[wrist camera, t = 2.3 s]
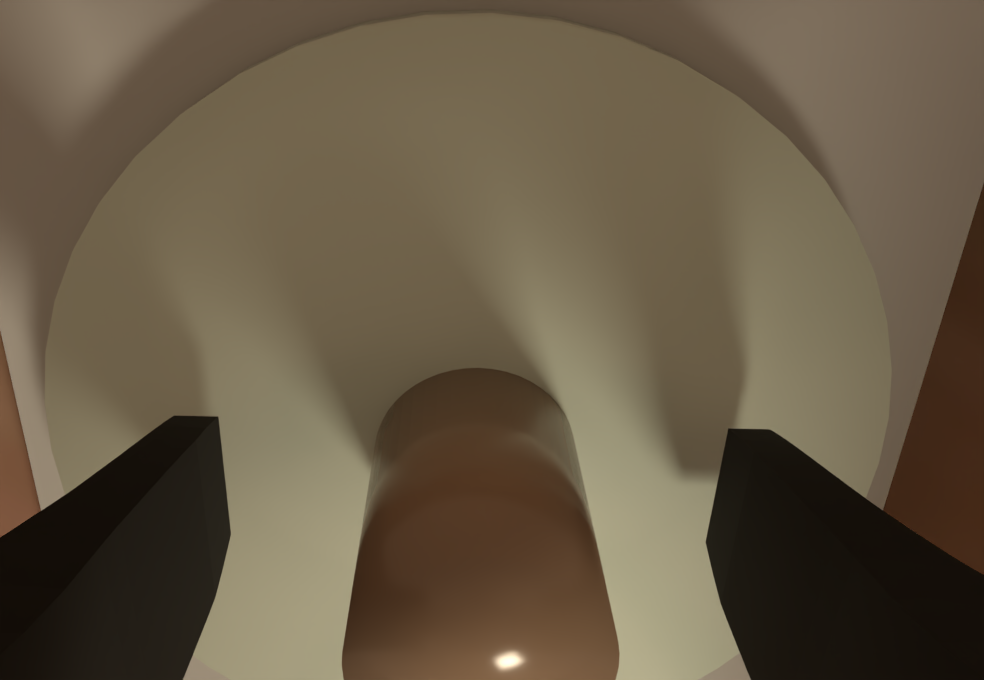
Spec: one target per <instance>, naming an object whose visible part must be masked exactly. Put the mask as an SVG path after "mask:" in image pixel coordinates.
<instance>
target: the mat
mask: <svg viewBox="0 0 984 680" xmlns="http://www.w3.org/2000/svg"><path fill="white" fill-rule="evenodd" d="M486 9H492V10H501V11H510V12H519V13H528V14H536V15H545V16H554V17H558V18H562V19H566V20H570V21H574V22H578V23H581V24H585V25H589V26H593V27H597V28H601V29H605V30H609V31H612V32H616V33H618V34H621V35H623V36H626V37H628V38H630V39H633V40H635V41H637V42H640V43H642V44H645V45H647V46H649V47H652V48H654V49H657V50H659V51H661V52H664V53H666V54H669V55H671V56H673V57H675V58H676V59H678V60H680V61H681V62H683V63H685V64H686V65H688V66H690V67H691V68H693V69H695V70H696V71H698V72H700V73H701V74H703V75H705V76H706V77H708V78H710V79H711V80H713V81H715V82H716V83H718V84H720V85H721V86H723V87H724V88H726V89H727V90H729V91H730V92H732V93H733V94H735V95H736V96H738V97H739V98H741V99H742V100H743V101H744V102H746V103H747V104H748V105H749V106H750V107H752V108H753V109H754V110H755V111H756V112H758V113H759V114H760V115H761V116H763V117H764V118H765V119H766V120H767V121H769V122H770V123H771V124H772V125H773V126H775V127H776V128H777V129H778V130H779V131H781V132H782V133H783V134H784V135H786V136H787V137H788V139H789V140H790V141H791V142H792V143H793V144H794V145H795V146H796V148H797V149H798V150H799V151H800V152H801V153H802V154H803V155H804V157H805V158H806V159H807V160H808V161H809V162H810V163H811V164H812V166H813V167H814V168H815V169H816V170H817V171H818V172H819V173H820V175H821V176H822V177H823V178H824V179H825V181H826V182H827V184H828V185H829V187H830V188H831V190H832V191H833V193H834V195H835V196H836V198H837V199H838V201H839V202H840V204H841V206H842V207H843V209H844V210H845V212H846V213H847V215H848V217H849V218H850V220H851V221H852V223H853V224H854V226H855V228H856V231H857V233H858V235H859V238H860V240H861V242H862V245H863V247H864V249H865V251H866V254H867V256H868V258H869V261H870V263H871V265H872V268H873V270H874V272H875V275H876V279H877V283H878V287H879V291H880V295H881V299H882V303H883V307H884V311H885V315H886V319H887V323H888V334H889V345H890V356H891V367H892V375H891V391H890V407H889V419H888V424H887V428H886V433H885V437H884V442H883V447H882V451H881V456H880V461H879V464H878V467H877V470H876V472H875V475H874V478H873V480H872V483H871V486H870V488H869V491H868V494H867V496H866V499H867V500H869V501H870V502H872V503H873V504H874V505H876V506H877V507H879V508H880V509H881V510H883V508H884V505H885V502H886V499H887V495H888V492H889V489H890V486H891V482H892V479H893V476H894V473H895V469H896V466H897V463H898V460H899V456H900V453H901V450H902V447H903V443H904V440H905V437H906V434H907V430H908V427H909V424H910V421H911V417H912V414H913V411H914V408H915V404H916V401H917V398H918V395H919V391H920V388H921V385H922V382H923V378H924V375H925V372H926V369H927V365H928V362H929V359H930V356H931V352H932V349H933V346H934V343H935V339H936V336H937V333H938V330H939V327H940V323H941V320H942V317H943V314H944V310H945V307H946V304H947V301H948V297H949V294H950V291H951V288H952V284H953V281H954V278H955V275H956V271H957V268H958V265H959V262H960V258H961V255H962V252H963V249H964V245H965V242H966V239H967V236H968V232H969V229H970V226H971V223H972V219H973V216H974V213H975V210H976V206H977V203H978V200H979V197H980V193H981V190H982V187H983V184H984V0H0V331H1V335H2V340H3V344H4V349H5V353H6V358H7V362H8V366H9V371H10V375H11V380H12V384H13V389H14V393H15V397H16V402H17V406H18V411H19V415H20V420H21V424H22V428H23V433H24V437H25V442H26V446H27V450H28V455H29V459H30V464H31V468H32V473H33V477H34V481H35V486H36V490H37V495H38V499H39V504H40V508H41V511H42V510H43V509H45V508H46V507H48V506H49V505H51V504H52V503H54V502H55V501H57V500H58V499H60V498H61V497H63V496H64V495H65V493H64V490H63V487H62V483H61V480H60V477H59V473H58V470H57V467H56V463H55V460H54V457H53V453H52V450H51V444H50V437H49V430H48V423H47V416H46V409H45V401H44V400H45V351H46V345H47V340H48V334H49V329H50V323H51V318H52V312H53V307H54V301H55V298H56V296H57V293H58V290H59V287H60V284H61V282H62V279H63V276H64V273H65V270H66V268H67V265H68V262H69V259H70V256H71V254H72V251H73V249H74V247H75V245H76V244H77V242H78V240H79V238H80V236H81V235H82V233H83V231H84V229H85V227H86V226H87V224H88V222H89V220H90V218H91V217H92V215H93V213H94V211H95V209H96V207H97V206H98V204H99V202H100V201H101V200H102V198H103V197H104V196H105V194H106V193H107V192H108V191H109V189H110V188H111V187H112V186H113V184H114V183H115V182H116V180H117V179H118V178H119V177H120V175H121V174H122V173H123V172H124V170H125V169H126V168H127V166H128V165H129V164H130V163H131V161H132V160H133V159H134V157H135V156H136V155H137V154H138V153H140V152H141V151H142V150H143V149H144V148H145V147H146V146H147V145H148V144H149V143H150V142H151V141H152V140H153V139H155V138H156V137H157V136H158V135H159V134H160V133H161V132H162V131H163V130H164V129H165V128H166V127H167V126H169V125H170V124H171V123H172V122H173V121H174V120H175V119H176V118H177V117H178V116H179V115H180V114H182V113H183V112H185V111H186V110H187V109H189V108H190V107H191V106H193V105H194V104H195V103H197V102H198V101H200V100H201V99H203V98H204V97H206V96H207V95H208V94H210V93H211V92H213V91H214V90H216V89H217V88H219V87H220V86H222V85H223V84H225V83H226V82H228V81H229V80H230V79H232V78H233V77H235V76H236V75H238V74H239V73H241V72H242V71H244V70H245V69H247V68H248V67H250V66H252V65H255V64H257V63H259V62H261V61H263V60H265V59H267V58H269V57H271V56H273V55H275V54H277V53H279V52H281V51H283V50H285V49H288V48H290V47H292V46H294V45H296V44H298V43H300V42H302V41H305V40H308V39H311V38H314V37H317V36H320V35H323V34H327V33H330V32H333V31H336V30H339V29H342V28H345V27H349V26H352V25H355V24H358V23H361V22H365V21H371V20H377V19H383V18H389V17H395V16H401V15H407V14H413V13H418V12H424V11H450V10H486ZM183 680H230V679H228V678H227V677H225V676H223V675H222V674H220V673H218V672H216V671H215V670H213V669H211V668H209V667H208V666H206V665H205V664H204V663H202V662H201V661H200V660H198V659H197V658H196V657H194V656H192V658H191V661H190V663H189V666H188V668H187V671H186V673H185V676H184V678H183ZM698 680H751V679H750V677H749V674H748V672H747V669H746V667H745V664H744V662H743V659H742V657H741V654H740V653H739V654H737V655H736V656H735V657H733V658H732V659H730V660H729V661H727V662H726V663H725V664H723V665H722V666H720V667H719V668H718V669H716V670H714V671H712V672H711V673H709V674H707V675H705V676H703V677H702V678H700V679H698Z"/></svg>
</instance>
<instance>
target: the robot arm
mask: <svg viewBox="0 0 984 680" xmlns="http://www.w3.org/2000/svg"><path fill="white" fill-rule="evenodd" d="M230 537H231V529H230V520H229V510H228V501H227V492H226V482H225V473H224V464H223V455H222V445H221V436H220V427H219V417H218V416H175V415H174V416H173V417H171V418H169V419H168V420H166V421H165V422H163V423H162V424H161V425H159V426H158V427H157V428H155V429H154V430H152V431H151V432H150V433H148V434H147V435H146V436H144V437H143V438H142V439H140V440H139V441H138V442H136V443H135V444H134V445H132V446H131V447H130V448H128V449H127V450H126V451H125V452H123V453H122V454H121V455H119V456H118V457H117V458H115V459H114V460H112V461H111V462H110V463H108V464H107V465H106V466H104V467H103V468H102V469H100V470H99V471H97V472H96V473H95V474H93V475H92V476H91V477H89V478H88V479H87V480H85V481H84V482H82V483H81V484H80V485H78V486H77V487H76V488H74V489H73V490H71V491H70V492H69V493H67V494H66V495H64V496H63V497H61V498H60V499H58V500H57V501H55V502H54V503H52V504H51V505H49V506H48V507H46V508H45V509H43V510H42V511H40V512H39V513H37V514H36V515H34V516H33V517H31V518H30V519H28V520H26V521H25V522H23V523H22V524H20V525H19V526H17V527H16V528H14V529H13V530H11V531H10V532H8V533H7V534H5V535H3V536H2V537H0V680H183V678H184V676H185V673H186V671H187V668H188V666H189V663H190V661H191V658H192V656H193V653H194V651H195V648H196V646H197V643H198V641H199V638H200V636H201V633H202V631H203V628H204V626H205V623H206V621H207V618H208V616H209V613H210V610H211V608H212V605H213V602H214V600H215V597H216V593H217V589H218V586H219V582H220V578H221V574H222V570H223V566H224V562H225V558H226V554H227V549H228V545H229V541H230ZM706 546H707V551H708V555H709V559H710V564H711V568H712V572H713V576H714V580H715V584H716V588H717V592H718V595H719V599H720V603H721V606H722V609H723V611H724V614H725V616H726V619H727V622H728V624H729V627H730V629H731V632H732V634H733V637H734V639H735V642H736V644H737V647H738V649H739V652H740V654H741V657H742V659H743V662H744V664H745V667H746V669H747V672H748V674H749V677H750V679H751V680H984V575H983V574H981V573H979V572H977V571H976V570H974V569H972V568H970V567H969V566H967V565H965V564H964V563H962V562H960V561H959V560H957V559H955V558H954V557H952V556H951V555H949V554H947V553H946V552H944V551H943V550H941V549H940V548H938V547H937V546H935V545H933V544H932V543H930V542H929V541H927V540H926V539H924V538H923V537H921V536H920V535H918V534H917V533H915V532H913V531H912V530H910V529H909V528H907V527H906V526H904V525H903V524H902V523H900V522H899V521H897V520H896V519H894V518H893V517H891V516H890V515H888V514H887V513H886V512H884V511H883V510H881V509H880V508H879V507H877V506H876V505H874V504H873V503H872V502H870V501H869V500H867V499H866V498H865V497H863V496H862V495H861V494H859V493H858V492H856V491H855V490H854V489H852V488H851V487H850V486H848V485H847V484H846V483H844V482H843V481H842V480H840V479H839V478H837V477H836V476H835V475H833V474H832V473H831V472H829V471H828V470H827V469H825V468H824V467H823V466H821V465H820V464H819V463H817V462H816V461H815V460H813V459H812V458H811V457H809V456H808V455H807V454H805V453H804V452H803V451H801V450H800V449H799V448H797V447H796V446H794V445H793V444H792V443H790V442H789V441H787V440H786V439H784V438H783V437H781V436H780V435H778V434H777V433H775V432H774V431H772V430H770V429H733V428H728V432H727V437H726V442H725V447H724V452H723V457H722V462H721V467H720V472H719V477H718V482H717V487H716V492H715V497H714V502H713V507H712V512H711V517H710V522H709V527H708V532H707V537H706Z"/></svg>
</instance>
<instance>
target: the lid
mask: <svg viewBox="0 0 984 680" xmlns="http://www.w3.org/2000/svg"><path fill="white" fill-rule="evenodd" d="M891 375H892V367H891V356H890V345H889V334H888V323H887V319H886V315H885V311H884V307H883V303H882V299H881V295H880V291H879V287H878V283H877V279H876V275H875V272H874V270H873V268H872V265H871V263H870V261H869V258H868V256H867V254H866V251H865V249H864V247H863V245H862V242H861V240H860V238H859V235H858V233H857V231H856V228H855V226H854V224H853V223H852V221H851V220H850V218H849V217H848V215H847V213H846V212H845V210H844V209H843V207H842V206H841V204H840V202H839V201H838V199H837V198H836V196H835V195H834V193H833V191H832V190H831V188H830V187H829V185H828V184H827V182H826V181H825V179H824V178H823V177H822V176H821V175H820V173H819V172H818V171H817V170H816V169H815V168H814V167H813V166H812V164H811V163H810V162H809V161H808V160H807V159H806V158H805V157H804V155H803V154H802V153H801V152H800V151H799V150H798V149H797V148H796V146H795V145H794V144H793V143H792V142H791V141H790V140H789V139H788V137H787V136H786V135H784V134H783V133H782V132H781V131H779V130H778V129H777V128H776V127H775V126H773V125H772V124H771V123H770V122H769V121H767V120H766V119H765V118H764V117H763V116H761V115H760V114H759V113H758V112H756V111H755V110H754V109H753V108H752V107H750V106H749V105H748V104H747V103H746V102H744V101H743V100H742V99H741V98H739V97H738V96H736V95H735V94H733V93H732V92H730V91H729V90H727V89H726V88H724V87H723V86H721V85H720V84H718V83H716V82H715V81H713V80H711V79H710V78H708V77H706V76H705V75H703V74H701V73H700V72H698V71H696V70H695V69H693V68H691V67H690V66H688V65H686V64H685V63H683V62H681V61H680V60H678V59H676V58H675V57H673V56H671V55H669V54H666V53H664V52H661V51H659V50H657V49H654V48H652V47H649V46H647V45H645V44H642V43H640V42H637V41H635V40H633V39H630V38H628V37H626V36H623V35H621V34H618V33H616V32H612V31H609V30H605V29H601V28H597V27H593V26H589V25H585V24H581V23H578V22H574V21H570V20H566V19H562V18H558V17H554V16H545V15H536V14H528V13H519V12H510V11H501V10H492V9H486V10H450V11H424V12H418V13H413V14H407V15H401V16H395V17H389V18H383V19H377V20H371V21H365V22H361V23H358V24H355V25H352V26H349V27H345V28H342V29H339V30H336V31H333V32H330V33H327V34H323V35H320V36H317V37H314V38H311V39H308V40H305V41H302V42H300V43H298V44H296V45H294V46H292V47H290V48H288V49H285V50H283V51H281V52H279V53H277V54H275V55H273V56H271V57H269V58H267V59H265V60H263V61H261V62H259V63H257V64H255V65H252V66H250V67H248V68H247V69H245V70H244V71H242V72H241V73H239V74H238V75H236V76H235V77H233V78H232V79H230V80H229V81H228V82H226V83H225V84H223V85H222V86H220V87H219V88H217V89H216V90H214V91H213V92H211V93H210V94H208V95H207V96H206V97H204V98H203V99H201V100H200V101H198V102H197V103H195V104H194V105H193V106H191V107H190V108H189V109H187V110H186V111H185V112H183V113H182V114H180V115H179V116H178V117H177V118H176V119H175V120H174V121H173V122H172V123H171V124H170V125H169V126H167V127H166V128H165V129H164V130H163V131H162V132H161V133H160V134H159V135H158V136H157V137H156V138H155V139H153V140H152V141H151V142H150V143H149V144H148V145H147V146H146V147H145V148H144V149H143V150H142V151H141V152H140V153H138V154H137V155H136V156H135V157H134V159H133V160H132V161H131V163H130V164H129V165H128V166H127V168H126V169H125V170H124V172H123V173H122V174H121V175H120V177H119V178H118V179H117V180H116V182H115V183H114V184H113V186H112V187H111V188H110V189H109V191H108V192H107V193H106V194H105V196H104V197H103V198H102V200H101V201H100V202H99V204H98V206H97V207H96V209H95V211H94V213H93V215H92V217H91V218H90V220H89V222H88V224H87V226H86V227H85V229H84V231H83V233H82V235H81V236H80V238H79V240H78V242H77V244H76V245H75V247H74V249H73V251H72V254H71V256H70V259H69V262H68V265H67V268H66V270H65V273H64V276H63V279H62V282H61V284H60V287H59V290H58V293H57V296H56V298H55V301H54V307H53V312H52V318H51V323H50V329H49V334H48V340H47V345H46V351H45V400H44V401H45V409H46V416H47V423H48V430H49V437H50V444H51V450H52V453H53V457H54V460H55V463H56V467H57V470H58V473H59V477H60V480H61V483H62V487H63V490H64V493H65V495H66V494H67V493H69V492H70V491H71V490H73V489H74V488H76V487H77V486H78V485H80V484H81V483H82V482H84V481H85V480H87V479H88V478H89V477H91V476H92V475H93V474H95V473H96V472H97V471H99V470H100V469H102V468H103V467H104V466H106V465H107V464H108V463H110V462H111V461H112V460H114V459H115V458H117V457H118V456H119V455H121V454H122V453H123V452H125V451H126V450H127V449H128V448H130V447H131V446H132V445H134V444H135V443H136V442H138V441H139V440H140V439H142V438H143V437H144V436H146V435H147V434H148V433H150V432H151V431H152V430H154V429H155V428H157V427H158V426H159V425H161V424H162V423H163V422H165V421H166V420H168V419H169V418H171V417H173V416H174V415H175V416H218V417H219V427H220V436H221V445H222V455H223V464H224V473H225V482H226V492H227V501H228V510H229V520H230V529H231V537H230V541H229V545H228V549H227V554H226V558H225V562H224V566H223V570H222V574H221V578H220V582H219V586H218V589H217V593H216V597H215V600H214V602H213V605H212V608H211V610H210V613H209V616H208V618H207V621H206V623H205V626H204V628H203V631H202V633H201V636H200V638H199V641H198V643H197V646H196V648H195V651H194V653H193V656H194V657H196V658H197V659H198V660H200V661H201V662H202V663H204V664H205V665H206V666H208V667H209V668H211V669H213V670H215V671H216V672H218V673H220V674H222V675H223V676H225V677H227V678H228V679H230V680H698V679H700V678H702V677H703V676H705V675H707V674H709V673H711V672H712V671H714V670H716V669H718V668H719V667H720V666H722V665H723V664H725V663H726V662H727V661H729V660H730V659H732V658H733V657H735V656H736V655H737V654H739V653H740V652H739V649H738V647H737V644H736V642H735V639H734V637H733V634H732V632H731V629H730V627H729V624H728V622H727V619H726V616H725V614H724V611H723V609H722V606H721V603H720V599H719V595H718V592H717V588H716V584H715V580H714V576H713V572H712V568H711V564H710V559H709V555H708V551H707V546H706V537H707V532H708V527H709V522H710V517H711V512H712V507H713V502H714V497H715V492H716V487H717V482H718V477H719V472H720V467H721V462H722V457H723V452H724V447H725V442H726V437H727V432H728V428H733V429H770V430H772V431H774V432H775V433H777V434H778V435H780V436H781V437H783V438H784V439H786V440H787V441H789V442H790V443H792V444H793V445H794V446H796V447H797V448H799V449H800V450H801V451H803V452H804V453H805V454H807V455H808V456H809V457H811V458H812V459H813V460H815V461H816V462H817V463H819V464H820V465H821V466H823V467H824V468H825V469H827V470H828V471H829V472H831V473H832V474H833V475H835V476H836V477H837V478H839V479H840V480H842V481H843V482H844V483H846V484H847V485H848V486H850V487H851V488H852V489H854V490H855V491H856V492H858V493H859V494H861V495H862V496H863V497H865V498H866V496H867V494H868V491H869V488H870V486H871V483H872V480H873V478H874V475H875V472H876V470H877V467H878V464H879V461H880V456H881V451H882V447H883V442H884V437H885V433H886V428H887V424H888V419H889V407H890V391H891Z"/></svg>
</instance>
